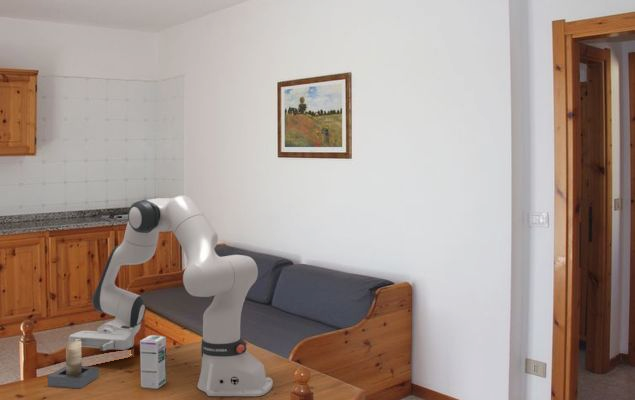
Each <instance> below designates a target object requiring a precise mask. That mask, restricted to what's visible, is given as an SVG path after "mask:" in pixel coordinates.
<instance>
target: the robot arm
mask: <svg viewBox="0 0 635 400" xmlns="http://www.w3.org/2000/svg"><path fill="white" fill-rule="evenodd" d="M127 214H128V215H127V219H128V221H127V224H126V227H125V230H124V231H125V232H124V235H123V239H122V242H121V243H120V244H117V245H116V246H114V247H113V249H112V250H111V251H110V253H109V256H108V258H107V261H106V263H105V265H104V268H103V270H102V273H101V275H100V276H101V277H100V279H99V281H98V284H97V285H96V288H95V290H94V292H93V294H92V296H91V303H92V306H93V309H94V310H95V311H96V312H100V313H102V314H108V315H109V316H113V317H115V318H113V320H109V321H107V322H105V323H104V324H101V325H100V326H99V327H98V328H97V330H96V331H95V330H81V331H80V330H79V331H77V332H73V333H72V334H70V335H69V336H68V342H69V341H81V348H91V349H99V350H100V351H103V352H105V351H108V350H120V351H124V350H125V351H126V350H129V349H130V348H133V347H134V344H135V336H136V335H137V333H138V332H139V331H140V330H141V325H142V322H143V320H144V317H145V314H146V311H147V307H146V302H145V300H144V297H143V296H142V295H139V294H137V293H134V292H132V291H128V290H126V289H123V288H121V287H118V286H117V285H116V284H115V281H116V278H117V277H118V273H119V271H120V269H121V266H127V265H128V266H129V265H131V266H133V265H136V266H137V265H141V264H144V263H147V262H148V261H149V260H151V259H152V258H153V256H154V255H155V253H156V249H157V246H158V240H159V235H160V233H166V232H167V233H168V232H172V233H173V234H174V236H175V238H176V239H177V241H178V243H179V244H180V246H181V248H182V250H183V251H184V254H185V256H186V261H187V265H186V267H185V269H184V272H183V275H182V282H183V286H184V288H185V290H186V291H187V293H188V294H189V295H191V297H198V298H199V297H200V298H203V297H204V298H206V297H207V298H210V297H213V300H212V302H211V304H210V305H209V306H208V307H207V308H206V309H205V311H204V312H203V315H202V339H201V345H200V353H201V367H200V374H199V379H198V383H197V385H196V387H197V388H198V389H199V390H200V391H202V392H204V393H205V394H206V395H207V396H208V397H261V396H263V395H266V394H267V393H269V392H270V390H271V389H272V388H273V386H274V383H273V379H272V378H271V377H269V376H267V377H266V369H265V366H264V364H263V362H261V360H258V358H256V357H255V356H253V355H252V354H251V353H249V352H248V351H247V346H248V340H244V339H242V338H241V317H242V311H243V306H244V303H245V300H246V297H247V295H248V292H249V290H250V289H251V287H252V286H253V285H254V284H255V283H256V281H257V279H258V276H259V268H258V265H257V263H256V261H255V260H254V259H253V257H252V256H249V255H242V254H231V255H226V256H219V255H218V254H217V252H216V250H215V248H216V247H217V245H218V240H219V236H218V233H217V232H216V230H215V228H214V226H212V224H211V222H210V221H209V220H208V218H207V216H206V215H205V213H204V211H202V210H201V208H200V206H198V205H197V203H195V201H194V200H193V199H191V198H190V197H189V196H187V195H181V194H180V195H176V196H174V197H172V198H171V197H163V198H162V197H157V198H150V199H141V200H137V201H136V202H133V203H132V204H131V205H130V207H129V209H128V213H127Z"/></svg>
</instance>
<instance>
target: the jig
mask: <svg viewBox="0 0 635 400" xmlns="http://www.w3.org/2000/svg"><path fill="white" fill-rule="evenodd" d="M99 377H100V367H99V366H87V365H85V366H83V365H82V374H80V375H78V376H72V375H66V365H65V366H63V367H62V368H59V369H58V370H56V371H54V372H52V373H51V374H49V375H47V387H56V388H68V389H78V390H80V389H82V388H84V387H85V386H87V385H88V384H89V383H90V384H91V382H94V381H95V380H96V379H98V378H99Z"/></svg>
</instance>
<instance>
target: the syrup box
mask: <svg viewBox="0 0 635 400" xmlns="http://www.w3.org/2000/svg"><path fill="white" fill-rule="evenodd" d="M166 337H167V336H166V335H165V336H164V335H158V334H154V335H153V334H152V335H151V334H150V335H148V336H147V337H145V338H143V339H141V340H140V341H139V345H140V346H139V351H140V352H139V353H140V356H139V357H140V358H139V359H140V360H139V361H140V387H141V388H145V389H153V390H154V389H155V390H157V389H158V390H159V388H161V387H162V386H163V385H164V384H166V383H167V382H168V381H167V338H166Z"/></svg>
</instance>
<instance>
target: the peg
mask: <svg viewBox="0 0 635 400" xmlns="http://www.w3.org/2000/svg"><path fill="white" fill-rule="evenodd" d="M82 356H83V355H82V347H81V341H69V340H68V341H67V342H65V366H66V375H72V376H78V375H80V374H82V366H83V365H82V364H83V362H82V361H83V360H82Z"/></svg>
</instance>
